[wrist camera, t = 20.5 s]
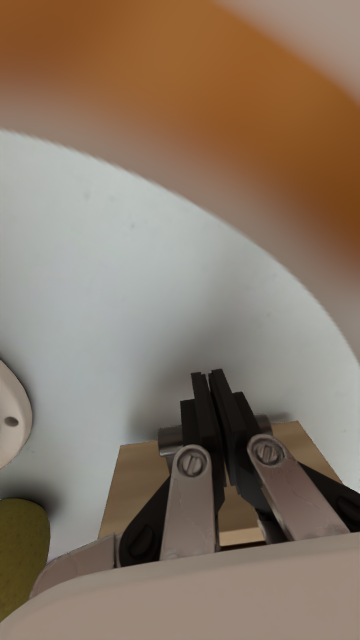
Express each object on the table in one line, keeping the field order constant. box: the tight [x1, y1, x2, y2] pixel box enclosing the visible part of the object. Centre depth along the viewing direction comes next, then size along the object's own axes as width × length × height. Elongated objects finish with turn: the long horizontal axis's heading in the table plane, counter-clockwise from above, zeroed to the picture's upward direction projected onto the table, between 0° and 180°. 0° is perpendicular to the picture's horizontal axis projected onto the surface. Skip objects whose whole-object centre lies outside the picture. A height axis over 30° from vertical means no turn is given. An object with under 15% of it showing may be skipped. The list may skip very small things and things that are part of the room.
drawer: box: [97, 414, 344, 552], centre depth 15 cm, size 18×13×6 cm
